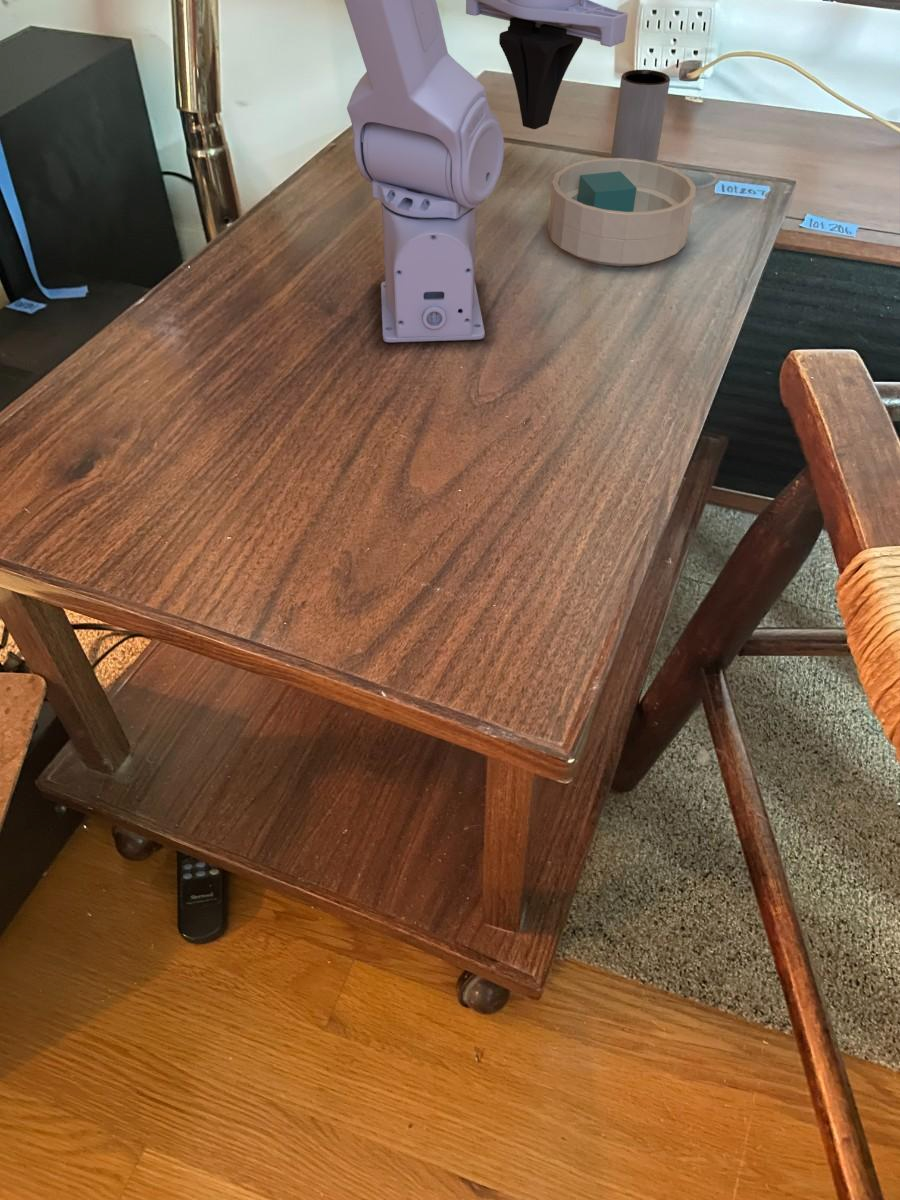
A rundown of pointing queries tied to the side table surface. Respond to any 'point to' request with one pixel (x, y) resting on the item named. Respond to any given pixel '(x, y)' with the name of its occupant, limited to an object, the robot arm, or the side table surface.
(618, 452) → the side table surface
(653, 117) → the grey cylindrical cup
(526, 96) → the robot arm
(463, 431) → the side table surface
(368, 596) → the side table surface
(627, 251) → the bowl
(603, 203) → the block
